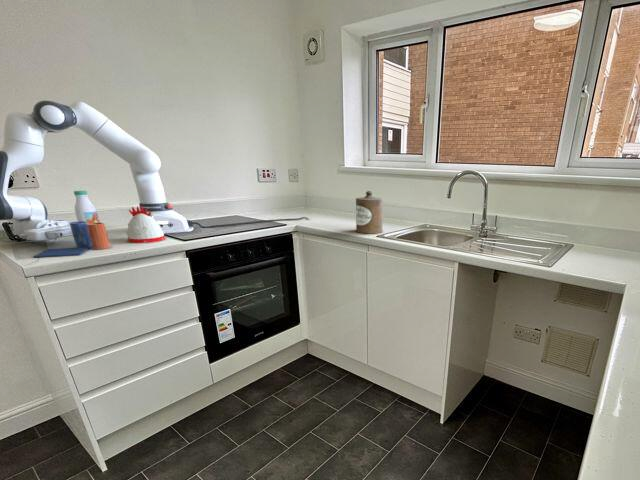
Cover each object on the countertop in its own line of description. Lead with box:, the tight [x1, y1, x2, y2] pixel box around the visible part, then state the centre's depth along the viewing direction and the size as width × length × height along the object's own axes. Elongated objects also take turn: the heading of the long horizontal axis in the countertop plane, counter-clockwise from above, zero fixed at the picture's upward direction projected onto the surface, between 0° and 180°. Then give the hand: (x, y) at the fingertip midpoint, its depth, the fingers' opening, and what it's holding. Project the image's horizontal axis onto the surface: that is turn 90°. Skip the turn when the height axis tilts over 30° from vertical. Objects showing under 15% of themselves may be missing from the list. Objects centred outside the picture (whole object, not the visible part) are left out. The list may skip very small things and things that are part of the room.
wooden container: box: [355, 190, 383, 234], centre depth 195 cm, size 15×15×22 cm
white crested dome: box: [126, 206, 166, 244], centre depth 158 cm, size 14×14×15 cm
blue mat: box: [34, 247, 91, 259], centre depth 135 cm, size 13×12×1 cm
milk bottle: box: [73, 190, 101, 223], centre depth 164 cm, size 8×8×20 cm
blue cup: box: [69, 220, 93, 248], centre depth 144 cm, size 6×6×10 cm
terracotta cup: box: [86, 221, 111, 250], centre depth 142 cm, size 6×6×10 cm
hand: (73, 232), depth 144 cm, fingers open, 8 cm apart
